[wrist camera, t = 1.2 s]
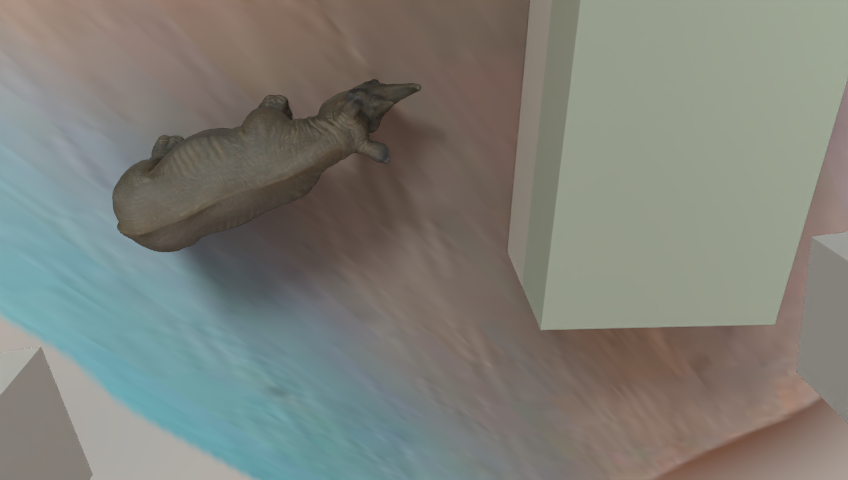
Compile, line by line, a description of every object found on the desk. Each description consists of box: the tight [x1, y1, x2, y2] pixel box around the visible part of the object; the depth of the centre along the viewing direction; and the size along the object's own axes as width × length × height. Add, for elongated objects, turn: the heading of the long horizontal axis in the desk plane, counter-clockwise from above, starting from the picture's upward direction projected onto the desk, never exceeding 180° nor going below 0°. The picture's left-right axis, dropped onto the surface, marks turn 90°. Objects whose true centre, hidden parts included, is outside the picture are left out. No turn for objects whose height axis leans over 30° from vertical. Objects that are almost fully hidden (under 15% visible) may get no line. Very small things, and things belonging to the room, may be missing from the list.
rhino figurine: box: [113, 79, 421, 252], centre depth 28 cm, size 4×14×6 cm, turn 111°
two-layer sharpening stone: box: [507, 0, 848, 330], centre depth 28 cm, size 18×10×7 cm, turn 178°
